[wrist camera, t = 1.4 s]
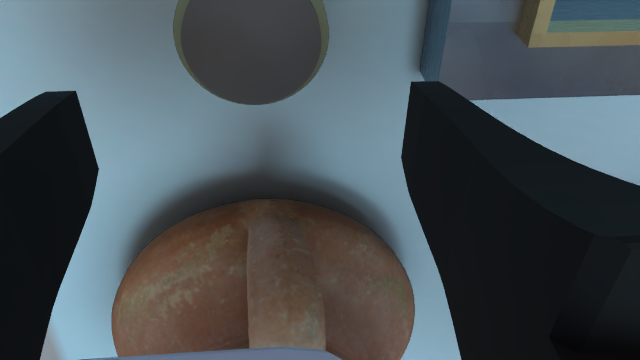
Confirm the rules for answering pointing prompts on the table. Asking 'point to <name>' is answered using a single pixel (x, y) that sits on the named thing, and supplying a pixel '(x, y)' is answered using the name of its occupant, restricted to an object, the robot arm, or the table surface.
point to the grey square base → (533, 48)
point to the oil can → (251, 46)
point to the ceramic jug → (265, 285)
